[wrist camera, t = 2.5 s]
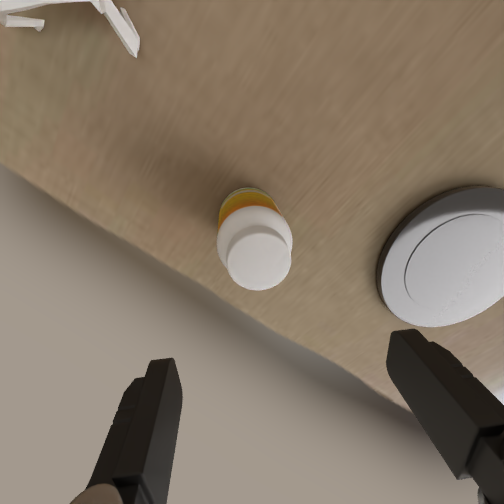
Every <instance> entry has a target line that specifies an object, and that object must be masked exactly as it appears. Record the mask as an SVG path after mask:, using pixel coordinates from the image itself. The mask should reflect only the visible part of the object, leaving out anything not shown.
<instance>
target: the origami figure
mask: <svg viewBox="0 0 504 504" xmlns="http://www.w3.org/2000/svg"><path fill="white" fill-rule="evenodd" d="M84 1H91V3H92V4H93V5H94V6H95V7H96V8H97V10H98V11H99V12H100V13H101V14H102V13H104V15H105V16H106V18H107V19H108V21H109V23H110V24H111V26H112V27H113V29H114V30H115V32H116V33H117V35H118V37H119V38H120V40H121V41H122V43H123V44H124V46H125V47H126V49H127V50H128V52H129V53H130V54H132V55H133V56H134V57H136V58H137V50H138V51H139V45H140V37H139V35H138V33H137V31H136V29H135V27H134V25H133V24H132V22H131V20H130V18H129V16H128V14H127V12H126V10H125V9H124V8H121V7H120V13H119V11H118V10H117V8H116V7H115V5H114V4H113V2H112V1H111V0H0V23H1V24H2V25H4V26H5V27H34V28H35V29H36V30H37V31H39V32H40V31H41V30H42V28H43V27H44V21H45V20H42V19H34V18H26V17H19V16H11V15H7V14H10V13H15V12H20V11H25V10H29V9H33V8H37V7H40V6H44V5H48V4H58V3H67V2H84Z"/></svg>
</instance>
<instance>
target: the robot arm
mask: <svg viewBox="0 0 504 504" xmlns="http://www.w3.org/2000/svg"><path fill="white" fill-rule="evenodd" d="M386 366H387V371H388V374H389V376H390V378H391V380H392V381H393V383H394V384H395V386H396V387H397V389H398V391H399V392H400V394H401V395H402V397H403V398H404V400H405V401H406V403H407V404H408V406H409V407H410V409H411V410H412V412H413V413H414V415H415V416H416V418H417V419H418V421H419V422H420V424H421V425H422V427H423V429H424V430H425V432H426V433H427V434H428V436H429V437H430V439H431V441H432V442H433V444H434V445H435V447H436V448H437V450H438V451H439V453H440V454H441V456H442V457H443V459H444V460H445V462H446V463H447V465H448V467H449V468H450V470H451V471H452V473H453V474H454V476H455V477H456V479H457V480H460V479H466V478H473V479H474V480H475V482H476V483H477V485H478V486H479V489H478V504H504V405H503V404H502V403H501V402H500V401H499V400H498V399H497V398H496V397H495V396H494V395H493V394H492V393H491V392H490V391H489V390H488V389H487V388H486V387H485V386H484V385H483V384H482V383H481V382H480V381H479V380H478V379H477V378H476V377H475V378H474V377H473V374H472V373H471V372H470V371H469V370H468V369H467V368H466V367H463V365H462V363H461V362H460V361H459V360H458V359H457V358H456V357H455V356H454V355H453V354H452V353H451V352H450V351H448V350H446V349H445V348H443V347H442V346H440V345H438V344H437V343H435V342H428V340H427V339H426V338H425V337H424V336H423V335H422V334H421V333H420V332H419V331H418V330H416V329H407V330H399V331H393V332H392V333H391V336H390V342H389V348H388V354H387V360H386ZM181 409H182V387H181V383H180V379H179V375H178V371H177V368H176V364H175V360H174V359H173V358H166V359H159V360H151V361H150V363H149V366H148V368H147V372H146V375H145V377H141V378H136V379H134V381H133V382H132V383H131V385H130V386H129V387H128V388H127V389H126V391H125V392H124V394H123V397H122V399H121V402H120V404H119V407H118V411H117V412H116V415H115V417H114V420H113V425H111V428H110V430H109V433H108V435H107V438H106V440H105V443H104V446H103V448H102V451H101V453H100V456H99V459H98V461H97V463H96V466H95V469H94V471H93V474H92V477H91V479H90V481H89V483H88V485H87V487H86V489H85V490H84V491H83V492H82V493H80V494H79V495H78V496H77V497H76V498H75V499H74V500H73V501H72V502H71V503H70V504H166V503H167V496H168V490H169V484H170V478H171V471H172V465H173V459H174V453H175V446H176V440H177V433H178V428H179V421H180V414H181Z"/></svg>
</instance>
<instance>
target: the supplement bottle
mask: <svg viewBox="0 0 504 504" xmlns="http://www.w3.org/2000/svg"><path fill="white" fill-rule="evenodd" d="M291 250H292V234H291V231H290V228H289V226H288V224H287V222H286V221H285V219H284V217H283V216H282V214H281V212H280V211H279V209H278V207H277V206H276V204H275V202H274V201H273V199H272V198H271V197H270V196H269V195H268V194H267V193H265V192H264V191H262V190H259V189H256V188H241V189H238V190H236V191H234V192H232V193H231V194H230V195H228V196H227V197H226V199H225V200H224V201H223V203H222V205H221V208H220V212H219V221H218V233H217V251H218V255H219V257H220V259H221V261H222V263H223V264H224V266H225V267H226V268H227V269H228V272H229V274H230V276H231V278H232V279H233V280H234V281H235V282H236V283H237V284H238V285H240V286H242V287H244V288H246V289H250V290H265V289H269V288H271V287H274V286H275V285H277V284H279V283H280V282H281V281H282V280H283V279H284V278H285V277H286V275H287V273H288V272H289V269H290V266H291Z"/></svg>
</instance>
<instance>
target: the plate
mask: <svg viewBox="0 0 504 504" xmlns="http://www.w3.org/2000/svg"><path fill="white" fill-rule="evenodd" d="M377 286H378V291H379V294H380V296H381V298H382V300H383V302H384V304H385V305H386V306H387V307H388V309H389V310H390V311H391V312H392V313H393V314H394V315H395V316H397V317H398V318H399V319H401V320H403V321H405V322H407V323H409V324H412V325H416V326H422V327H440V326H447V325H452V324H455V323H458V322H462V321H464V320H467V319H469V318H471V317H473V316H475V315H477V314H479V313H481V312H483V311H484V310H486V309H488V308H489V307H490V306H492V305H493V304H494V303H496V302H497V301H498V300H499V299H501V298H502V297H503V296H504V190H502V189H498V188H494V187H490V186H466V187H462V188H457V189H453V190H450V191H447V192H445V193H442V194H440V195H438V196H436V197H434V198H432V199H430V200H429V201H427V202H425V203H424V204H422V205H421V206H419V207H418V208H417V209H415V210H414V211H413V212H412V213H411V214H410V215H408V216H407V217H406V218H405V219H404V220H403V221H402V222H401V224H400V225H399V226H398V227H397V228H396V229H395V231H394V232H393V234H392V235H391V236H390V238H389V240H388V241H387V243H386V245H385V247H384V249H383V251H382V254H381V257H380V260H379V263H378V269H377Z"/></svg>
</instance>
